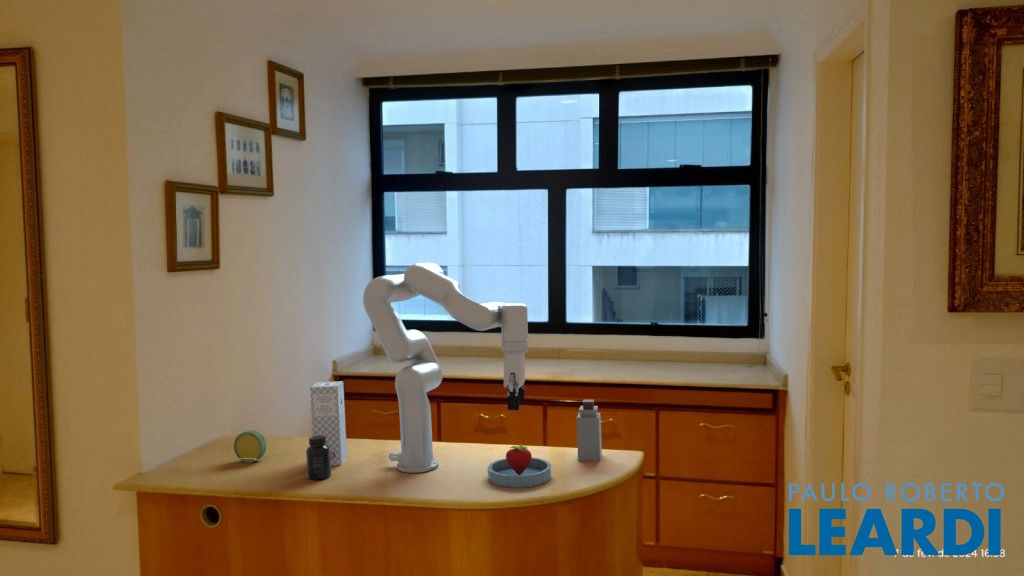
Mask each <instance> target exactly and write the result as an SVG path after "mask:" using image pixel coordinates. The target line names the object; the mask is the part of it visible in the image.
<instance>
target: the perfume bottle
mask: <svg viewBox="0 0 1024 576" xmlns="http://www.w3.org/2000/svg"><path fill="white" fill-rule="evenodd" d="M594 404H595V399H583V400H582V405H580V407H579V409H578V411H579V412H578V414H577V416H576V437H577V438H576V439H577V440H576V441H577V442H576V443H577V461H578V462H601V459H602V456H603V455H602V417H601V416H602V415H601V412H598V407H599V406H598V405H594Z"/></svg>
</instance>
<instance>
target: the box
mask: <svg viewBox="0 0 1024 576" xmlns="http://www.w3.org/2000/svg"><path fill="white" fill-rule="evenodd" d="M309 388H310V389H309V390H310V408H311V409H310V410H311V426H312V427H311V429H312V437H313V436H325V437H326V443H325V444H326V445H328V446H329V448H330V461H331V467H332V466H342V465H343V464H344V463H345V461H346V459H347V458H348V453H347V452H348V447H347V432H346V428H347V427H346V408H345V391H344V381H343V380H339V381H317V382H314V384H313V385H312V386H310V387H309Z"/></svg>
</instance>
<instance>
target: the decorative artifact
mask: <svg viewBox="0 0 1024 576" xmlns="http://www.w3.org/2000/svg"><path fill="white" fill-rule="evenodd" d="M233 451H234V454H235V455H236V457H237V458H238V459H239V458H256V459H258V460H260V459H261V458H263V456H264V455H265V453H266V451H267V442H266V440H265V437H264V435H263V434H262V433H260V432H259V431H257V430H251V429H249V430H246V431H244V432H241V433H239V434H238V435H237V437H236V438H235V439H234V442H233ZM239 460H240V461H242V463H243V462H244V463H246V464H249V463H250V464H251V463H254V462H256V461H257V460H254V459H239Z"/></svg>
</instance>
